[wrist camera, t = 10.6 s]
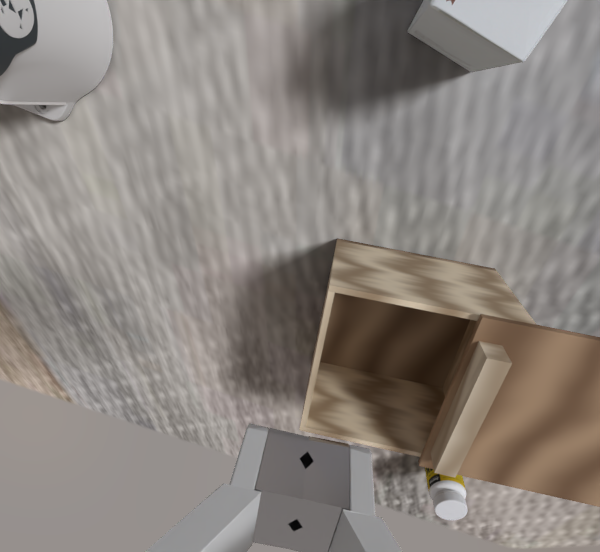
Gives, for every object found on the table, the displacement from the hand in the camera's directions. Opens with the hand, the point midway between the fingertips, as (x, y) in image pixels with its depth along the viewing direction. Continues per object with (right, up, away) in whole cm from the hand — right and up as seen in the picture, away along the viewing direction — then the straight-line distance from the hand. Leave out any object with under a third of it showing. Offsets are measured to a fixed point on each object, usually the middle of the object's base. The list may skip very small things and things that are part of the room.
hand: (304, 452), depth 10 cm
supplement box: (+14, +28, +25) cm, 40 cm away
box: (+12, -1, +39) cm, 40 cm away
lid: (+23, -9, +27) cm, 36 cm away
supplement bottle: (+20, -22, +47) cm, 56 cm away
